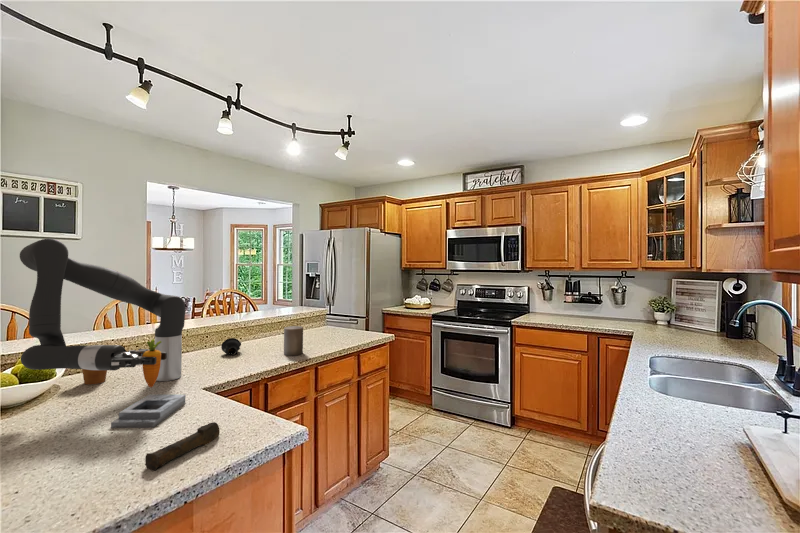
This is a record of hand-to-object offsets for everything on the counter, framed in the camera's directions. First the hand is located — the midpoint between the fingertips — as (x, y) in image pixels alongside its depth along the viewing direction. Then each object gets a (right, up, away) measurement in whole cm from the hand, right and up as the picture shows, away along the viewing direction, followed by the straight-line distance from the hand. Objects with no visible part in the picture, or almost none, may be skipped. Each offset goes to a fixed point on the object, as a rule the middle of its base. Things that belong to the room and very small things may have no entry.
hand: (160, 358), depth 114 cm
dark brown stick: (+20, -19, -21) cm, 34 cm away
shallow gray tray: (-3, -17, 0) cm, 18 cm away
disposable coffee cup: (-43, -16, +28) cm, 54 cm away
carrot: (-3, -9, 0) cm, 10 cm away
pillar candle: (+18, -17, +79) cm, 83 cm away
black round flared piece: (-13, -17, +78) cm, 81 cm away
